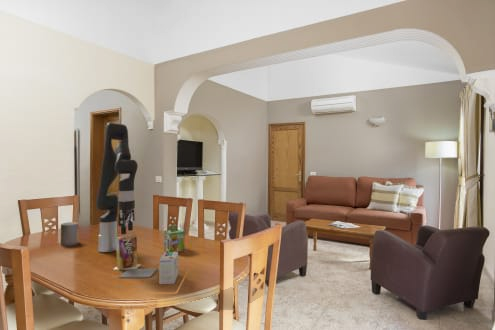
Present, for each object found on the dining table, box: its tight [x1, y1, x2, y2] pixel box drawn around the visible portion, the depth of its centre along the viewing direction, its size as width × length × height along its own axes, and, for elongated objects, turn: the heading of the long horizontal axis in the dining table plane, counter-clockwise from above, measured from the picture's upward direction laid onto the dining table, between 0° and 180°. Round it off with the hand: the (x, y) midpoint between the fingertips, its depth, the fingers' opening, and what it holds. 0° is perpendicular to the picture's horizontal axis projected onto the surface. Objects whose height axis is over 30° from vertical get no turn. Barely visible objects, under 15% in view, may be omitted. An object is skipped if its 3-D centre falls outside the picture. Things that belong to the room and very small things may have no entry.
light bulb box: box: [158, 251, 179, 285], centre depth 134 cm, size 11×7×11 cm, turn 5°
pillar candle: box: [60, 221, 79, 247], centre depth 191 cm, size 10×10×15 cm
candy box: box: [116, 233, 138, 271], centre depth 150 cm, size 9×4×15 cm, turn 133°
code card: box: [112, 263, 141, 271], centre depth 150 cm, size 11×7×1 cm, turn 90°
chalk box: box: [163, 224, 186, 253], centre depth 178 cm, size 9×9×15 cm
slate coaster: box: [118, 268, 158, 279], centre depth 141 cm, size 14×10×1 cm
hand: (127, 232), depth 150 cm, fingers open, 8 cm apart
